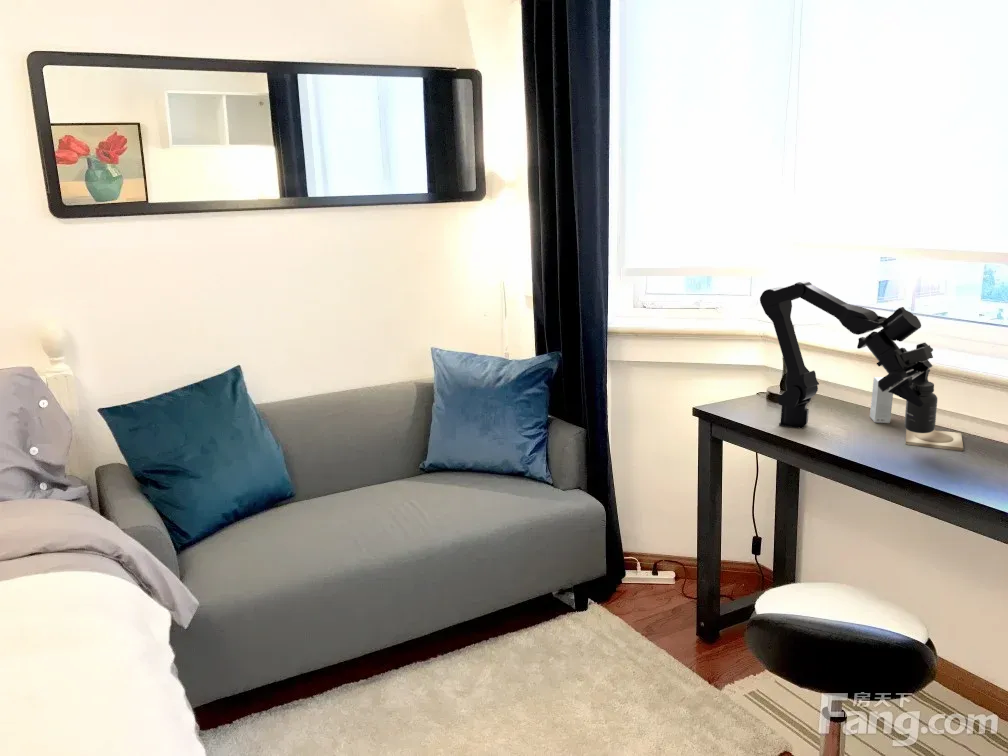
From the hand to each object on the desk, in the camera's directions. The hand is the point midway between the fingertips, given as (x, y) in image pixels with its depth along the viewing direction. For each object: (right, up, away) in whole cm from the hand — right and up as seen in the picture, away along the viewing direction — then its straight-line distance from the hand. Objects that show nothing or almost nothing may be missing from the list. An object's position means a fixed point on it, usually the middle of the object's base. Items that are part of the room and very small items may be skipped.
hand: (927, 403), depth 196 cm
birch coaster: (+9, -10, +13) cm, 19 cm away
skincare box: (+3, -6, +31) cm, 32 cm away
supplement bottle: (0, -7, +3) cm, 7 cm away
